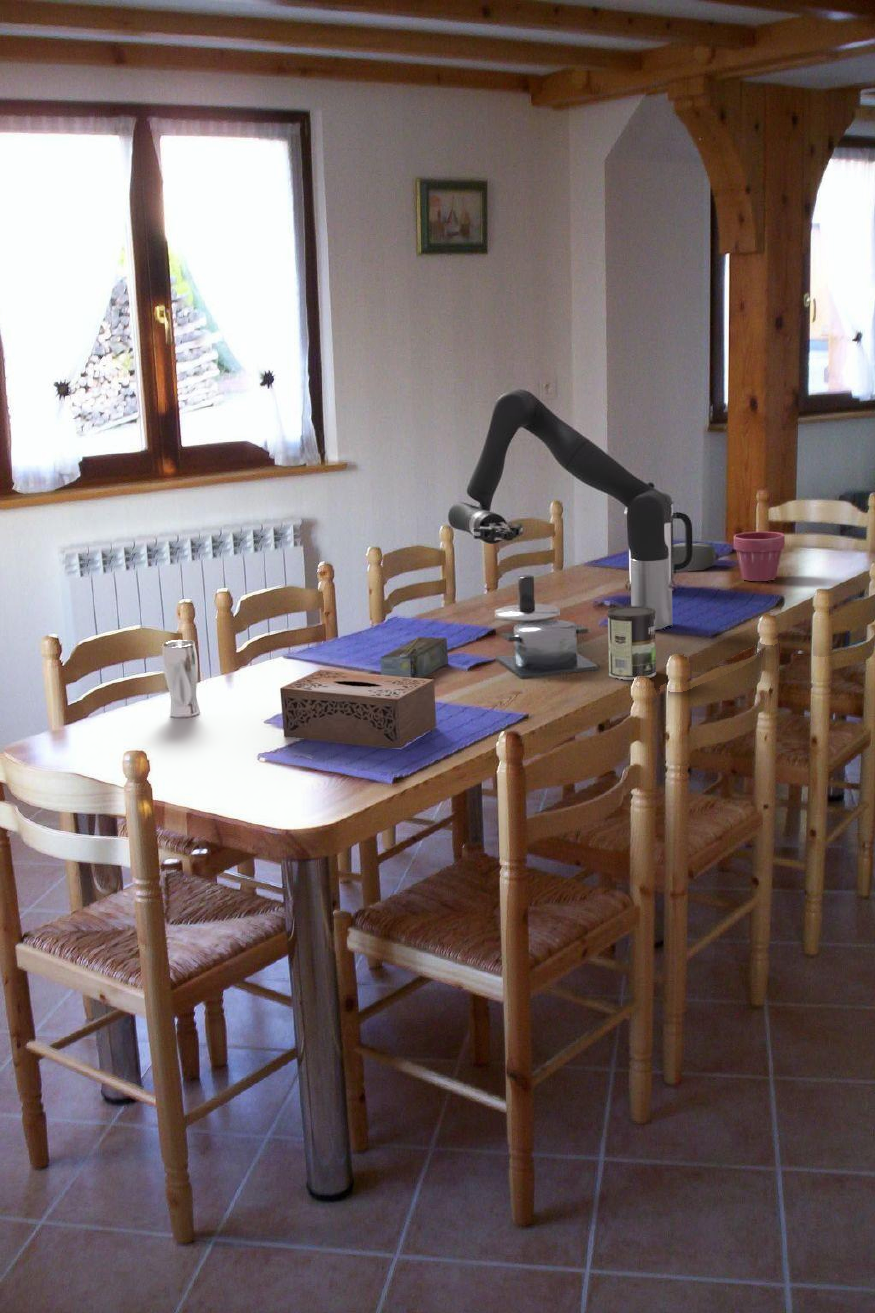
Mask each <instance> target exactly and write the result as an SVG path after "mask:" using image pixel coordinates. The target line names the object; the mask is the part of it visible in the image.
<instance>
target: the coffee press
mask: <svg viewBox="0 0 875 1313" xmlns="http://www.w3.org/2000/svg"><path fill="white" fill-rule="evenodd" d="M646 484H648V485H649V486H651V487H653V488H655V484H654V483H653V482H649V481H648V482H647V483H646ZM659 491H660V492H661V493H663V494H664V495H665V496H666V497H667V498H668V500H669V502H670V504H671V507H672V513H671V517H670V519H669V520H668V521H667V522H666V523H665V524H664V535H665V543H666V545H667V546H668V550H669V557H668V559H669V588H671V589H674V588H673V587H672V586H671V585H673V586H674V587H675V590H676V589H677V588H678V585H677V584H676V582H675V579H674V575H675V574H674V573H675V572H674V570H679V569H682V568H685V567H686V566H687V565H688V564H689V563H690V561H691V558H692V544H693V524H692V520H691V519H690V517H689V515H687V514H685V512H684V513H683V512H679V511H675V512H674V511H673V510H674V507H673V506H674V504H675V501H674V499H673V498H672V495H671V494H670V493H669V492H666V491H663V490H662V491H661V490H659ZM627 509H628V508H627V507H626V506H625V509H624V511H623V512H624V515H627ZM674 519H677V520H681V521H683V524H684V528H685V530H684V531H685V534H684V536H685V538H684V539H685V542H684V543H685V558H684V560H683V561H682V562H680V563H677V564H673V545H674ZM628 575H629V577H628V581H627V582H626V583H625V586H624V587H625V589H627V590H631V586H630V587H629V586H628V584H629V583H630V584H631V556H630V549H629V548H628ZM678 589H679V588H678ZM678 589H677V590H678Z"/></svg>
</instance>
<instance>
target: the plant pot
mask: <svg viewBox="0 0 875 1313" xmlns="http://www.w3.org/2000/svg"><path fill="white" fill-rule="evenodd" d="M785 542H786V541H785V535H784V533H782V532H777V531H776V532H775V531H749V532H748V531H747V532H741V533H737V534H734V535H733V549H734V550H735V551H736V554H737V560H738V564H739V569H740V573H741V578H742V580H743V579H746V580H754V581H765V580H771V579H774V578H776V579H777V573H778V569H779V564H780V558H781V555H782V554H781V553H782V550H783V549H785V545H786V543H785Z"/></svg>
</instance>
